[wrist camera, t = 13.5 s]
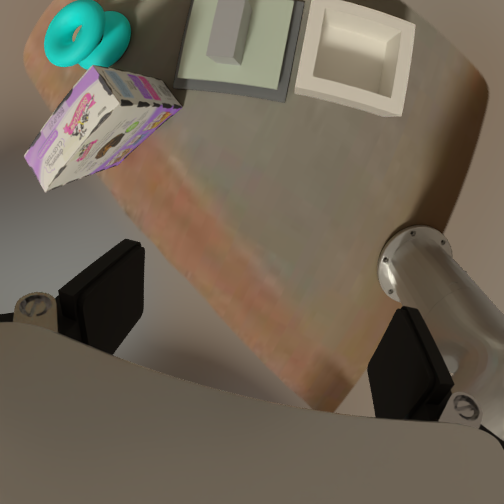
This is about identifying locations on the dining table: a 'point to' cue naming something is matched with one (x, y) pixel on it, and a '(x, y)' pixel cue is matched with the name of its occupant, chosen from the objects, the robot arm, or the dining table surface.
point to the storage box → (356, 57)
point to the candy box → (98, 125)
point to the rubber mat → (247, 89)
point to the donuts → (86, 36)
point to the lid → (236, 41)
